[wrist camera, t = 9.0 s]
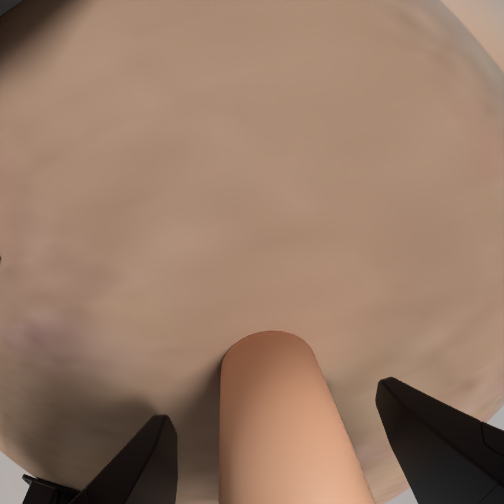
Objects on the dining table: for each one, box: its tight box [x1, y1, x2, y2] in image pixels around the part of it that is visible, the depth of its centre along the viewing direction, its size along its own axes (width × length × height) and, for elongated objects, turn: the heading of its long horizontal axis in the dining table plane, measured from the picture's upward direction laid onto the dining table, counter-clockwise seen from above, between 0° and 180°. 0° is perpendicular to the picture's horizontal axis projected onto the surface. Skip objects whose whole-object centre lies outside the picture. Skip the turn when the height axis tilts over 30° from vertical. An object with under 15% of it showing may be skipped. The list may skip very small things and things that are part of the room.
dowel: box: [219, 331, 376, 504], centre depth 6 cm, size 3×3×7 cm
